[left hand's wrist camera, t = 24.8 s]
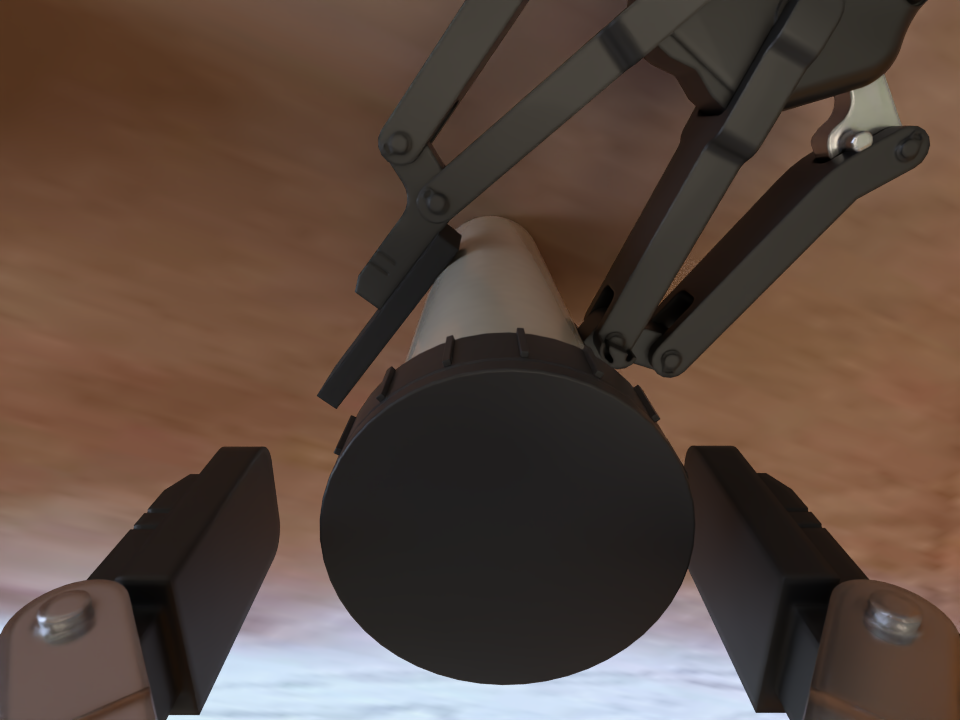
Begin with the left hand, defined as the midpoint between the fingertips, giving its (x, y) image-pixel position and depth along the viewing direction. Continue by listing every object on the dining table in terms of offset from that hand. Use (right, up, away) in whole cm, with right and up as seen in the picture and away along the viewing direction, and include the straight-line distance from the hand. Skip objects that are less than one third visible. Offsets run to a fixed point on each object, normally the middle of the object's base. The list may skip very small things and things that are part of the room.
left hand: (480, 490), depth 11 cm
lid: (0, 0, -2) cm, 2 cm away
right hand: (-3, 0, +10) cm, 11 cm away
